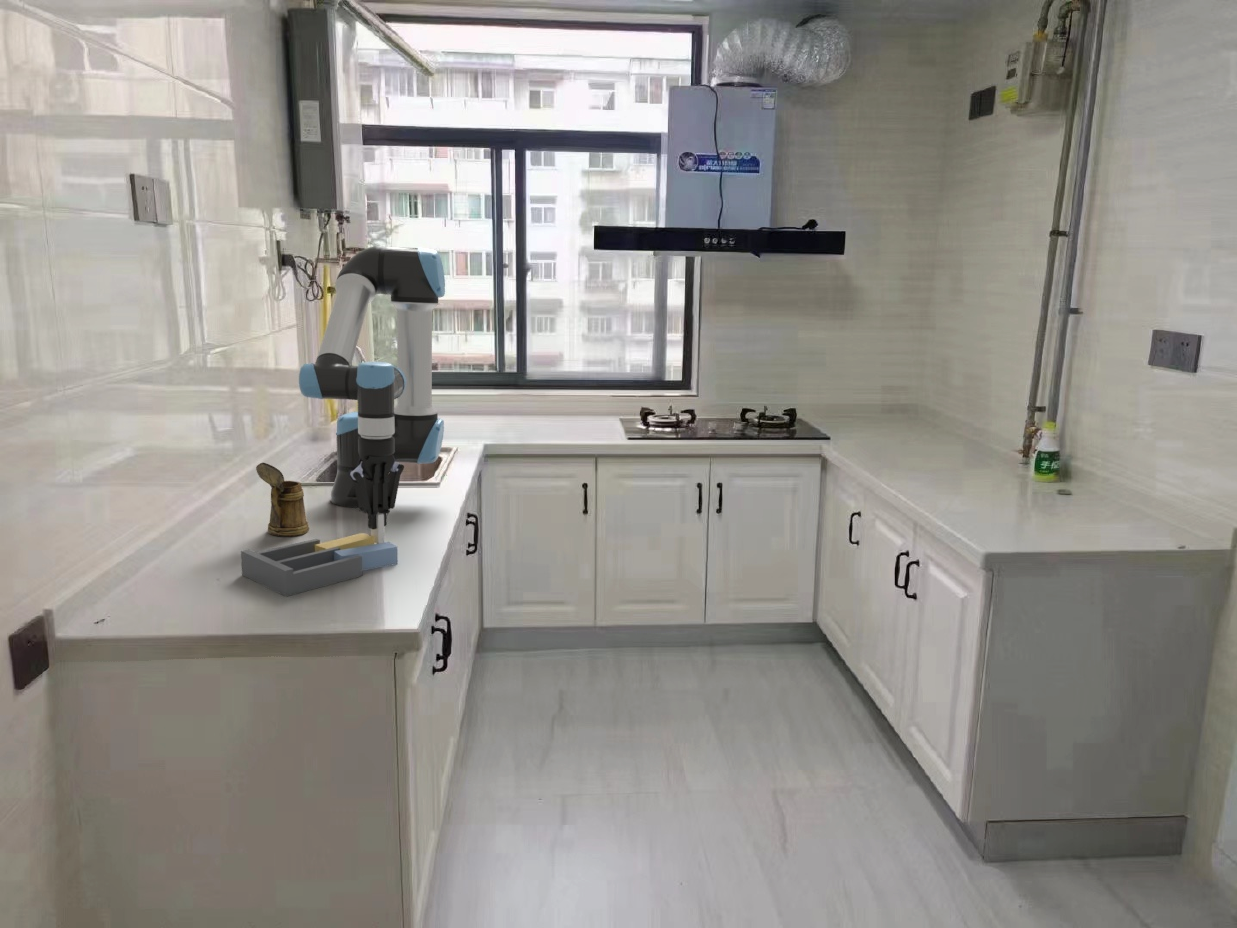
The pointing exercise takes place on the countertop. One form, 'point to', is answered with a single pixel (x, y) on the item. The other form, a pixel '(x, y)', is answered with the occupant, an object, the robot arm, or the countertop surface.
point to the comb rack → (298, 567)
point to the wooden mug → (284, 503)
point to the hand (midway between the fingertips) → (377, 542)
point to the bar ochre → (347, 542)
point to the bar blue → (371, 555)
